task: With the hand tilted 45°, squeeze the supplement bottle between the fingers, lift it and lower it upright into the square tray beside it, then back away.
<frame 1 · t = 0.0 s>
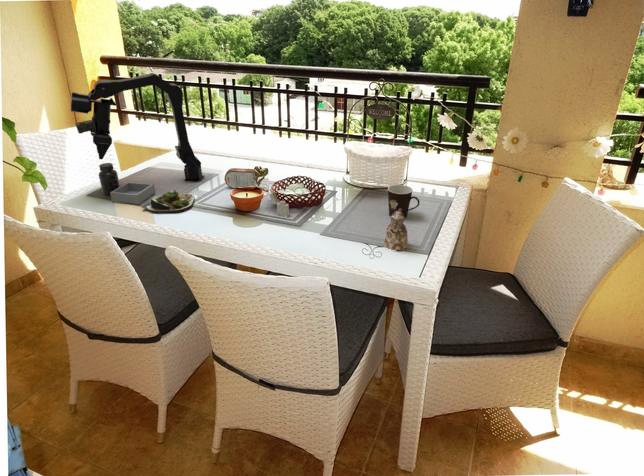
hand: (99, 156, 175), 15 cm above the table, tool pointing down, fingers open, 9 cm apart
square tray: (134, 197, 178), on the table
tin: (243, 189, 186), on the table
figurine: (395, 246, 143), on the table
supplement bottle: (112, 193, 182), on the table
salad plate: (170, 206, 172), on the table
coffee mug: (400, 217, 162), on the table
lighter: (279, 214, 164), on the table
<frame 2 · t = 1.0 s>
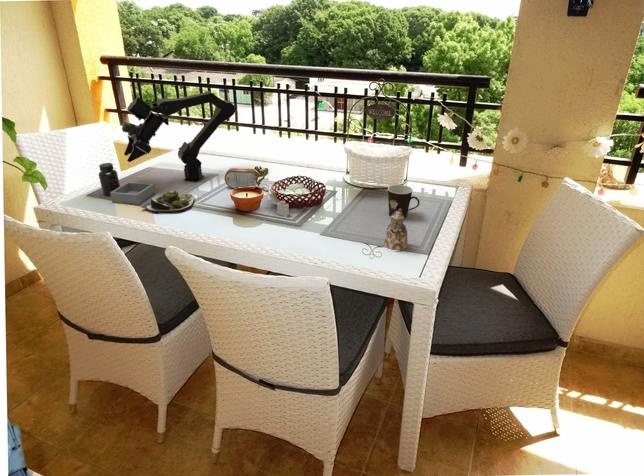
hand: (126, 158, 179), 13 cm above the table, tool tilted 45°, fingers open, 9 cm apart
nothing on the table moved.
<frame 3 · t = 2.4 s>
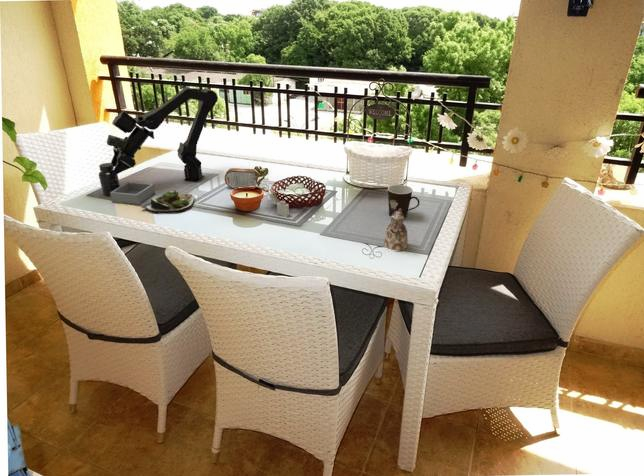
hand: (111, 171, 178), 9 cm above the table, tool tilted 45°, fingers open, 9 cm apart
nothing on the table moved.
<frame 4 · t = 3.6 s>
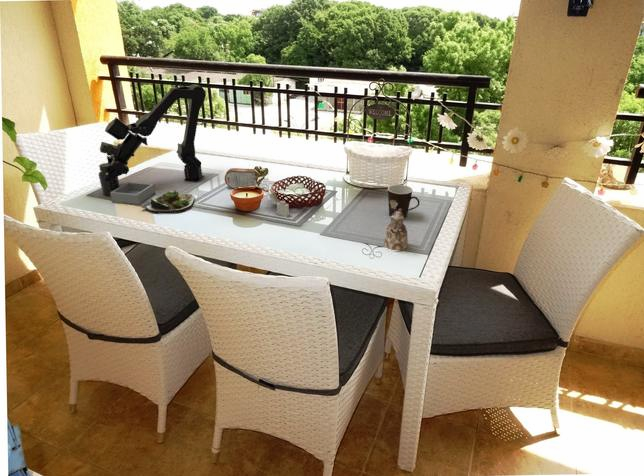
hand: (104, 178, 178), 7 cm above the table, tool tilted 45°, fingers closed on supplement bottle, 7 cm apart
supplement bottle: (112, 193, 182), on the table, touching gripper
everything else where it was.
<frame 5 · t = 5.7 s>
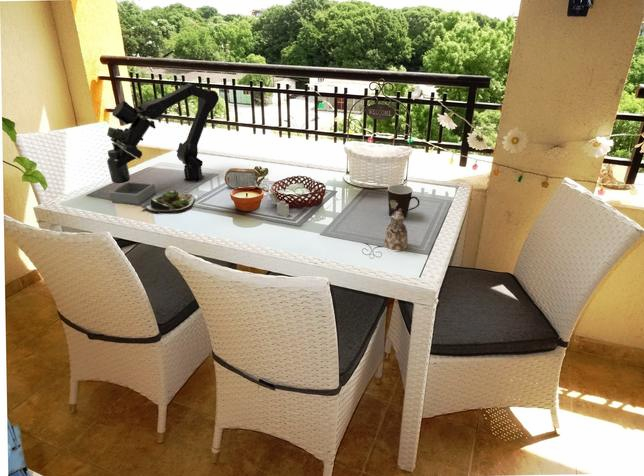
hand: (114, 165, 172), 13 cm above the table, tool tilted 45°, fingers closed on supplement bottle, 7 cm apart
supplement bottle: (121, 181, 176), point 6 cm above the table, touching gripper
everything else where it was.
when the fingers open (8 cm above the table, at t = 7.8 s): supplement bottle drops 1 cm, resting on square tray.
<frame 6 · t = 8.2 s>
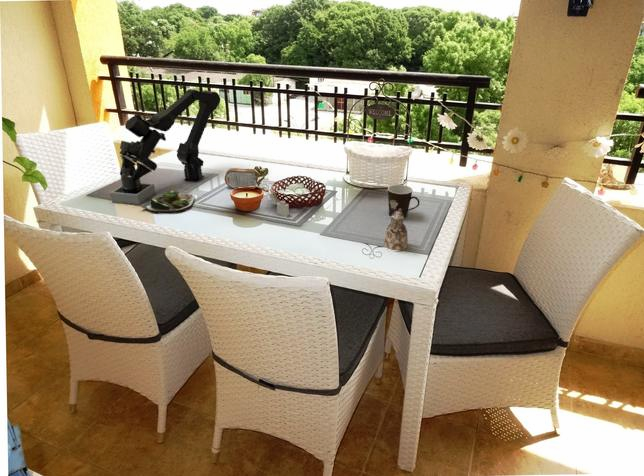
hand: (126, 178, 173), 9 cm above the table, tool tilted 45°, fingers open, 9 cm apart
supplement bottle: (134, 196, 178), resting on square tray
everything else where it was.
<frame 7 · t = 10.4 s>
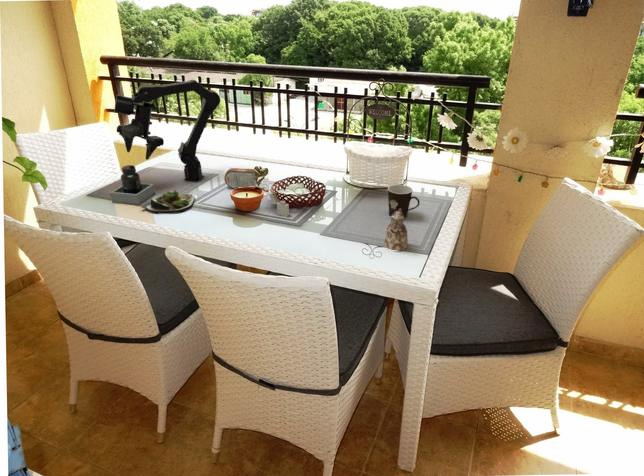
hand: (137, 155, 183), 13 cm above the table, tool tilted 15°, fingers open, 9 cm apart
nothing on the table moved.
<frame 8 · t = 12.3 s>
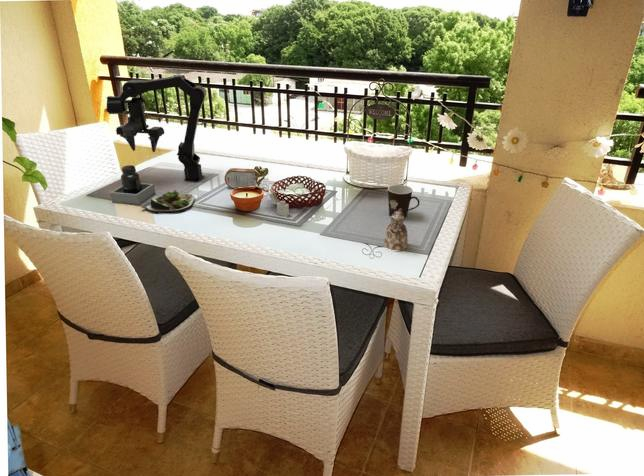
hand: (144, 151, 188), 13 cm above the table, tool pointing down, fingers open, 9 cm apart
nothing on the table moved.
at the end: supplement bottle 0.1 cm off-centre on the square tray, point 0.4 cm above the square tray's base; supplement bottle tilted 0°; the gripper is holding nothing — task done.
